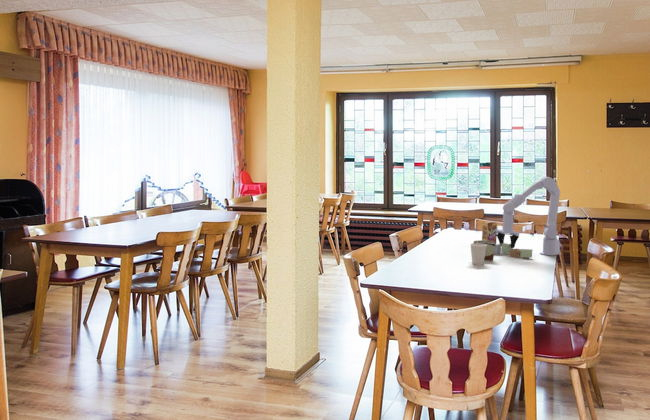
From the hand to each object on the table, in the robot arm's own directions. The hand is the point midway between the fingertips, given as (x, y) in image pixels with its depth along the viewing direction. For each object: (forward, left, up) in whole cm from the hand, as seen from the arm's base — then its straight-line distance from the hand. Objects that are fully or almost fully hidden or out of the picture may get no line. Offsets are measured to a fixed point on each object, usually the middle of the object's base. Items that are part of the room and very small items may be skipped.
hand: (507, 247), depth 363 cm
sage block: (0, 0, -3) cm, 3 cm away
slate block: (+8, -2, -3) cm, 9 cm away
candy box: (-10, -21, -4) cm, 23 cm away
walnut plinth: (+6, +11, -4) cm, 13 cm away
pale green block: (+7, +18, -3) cm, 20 cm away
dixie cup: (+42, +14, -4) cm, 44 cm away
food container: (+29, +8, -4) cm, 30 cm away
